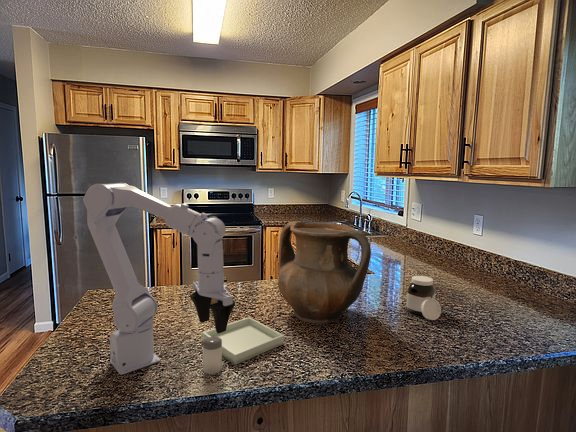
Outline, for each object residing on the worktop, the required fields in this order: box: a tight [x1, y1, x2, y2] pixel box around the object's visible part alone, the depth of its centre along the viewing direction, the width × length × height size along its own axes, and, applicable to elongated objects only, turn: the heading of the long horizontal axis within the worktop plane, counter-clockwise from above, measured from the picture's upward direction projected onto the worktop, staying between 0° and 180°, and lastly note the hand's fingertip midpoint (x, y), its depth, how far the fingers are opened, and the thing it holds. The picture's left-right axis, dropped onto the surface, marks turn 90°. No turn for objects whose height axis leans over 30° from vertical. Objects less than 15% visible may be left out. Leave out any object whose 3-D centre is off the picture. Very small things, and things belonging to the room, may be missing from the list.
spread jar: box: [406, 275, 442, 321], centre depth 119 cm, size 12×11×12 cm
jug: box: [277, 221, 372, 325], centre depth 117 cm, size 32×28×30 cm
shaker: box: [202, 337, 223, 375], centre depth 84 cm, size 4×4×7 cm
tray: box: [201, 316, 285, 365], centre depth 98 cm, size 16×16×2 cm
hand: (212, 326), depth 84 cm, fingers open, 7 cm apart
